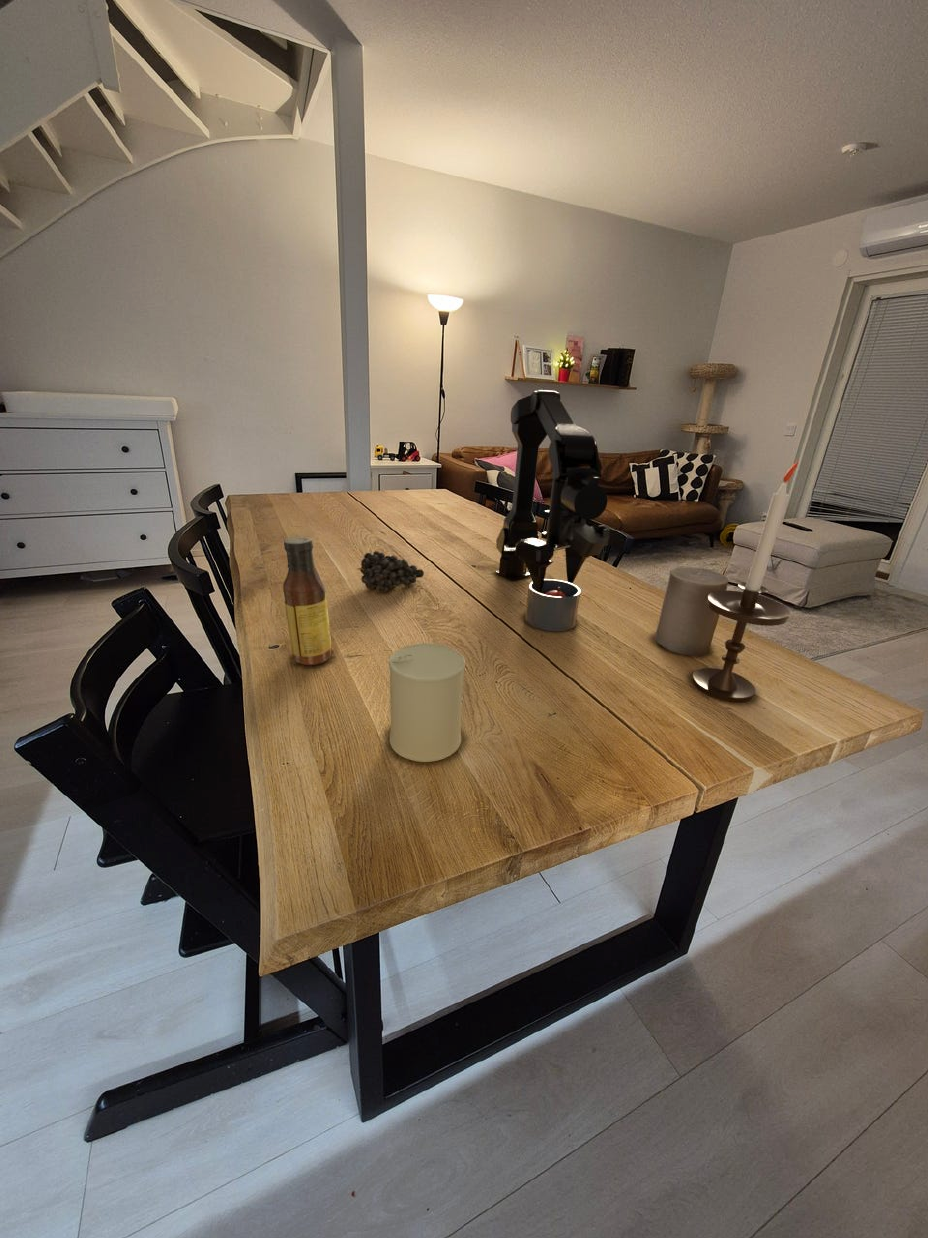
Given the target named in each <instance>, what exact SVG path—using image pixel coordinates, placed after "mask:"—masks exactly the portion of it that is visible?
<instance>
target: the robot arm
mask: <svg viewBox="0 0 928 1238" xmlns="http://www.w3.org/2000/svg"><path fill="white" fill-rule="evenodd" d="M510 423H511V432H512V434H513V436H514V438H515V441H516V443H517V451H516V461H515V472H514V481H513V483H514V484H513V493H512V494H513V495H512V503H511V504H512V505H511V509H510V510H509V512H508V514H507V515H506V516H505V518H504V519H503V525H502V528H500V531H499V534H498V535H497V537H496V540H495V541H496V543H495V546H496V550H497V551H498V552H499V553H500V557H499V566H498V570H495V572H494V573H495V574H497V575H499V576H502V577H504V578H506V579H509V580H511V581H515V580H519V579H523V578H528V577H530V579H531V582H533V584H534V587H535V590H536V591H537V592H539V593H540V592H541V591H542V588H543V584H544V579H546V578H545V577H546V571H547V568H548V567H549V566H550V565H551V564H553V562H554V561H553V560H552V558H554V553H555V551H560V550H565V551H564V552H565V569H566V570H565V571H566V579H567V581H566V582H569V583H572V584H574V582H575V580H576V578H577V576H578V574H579V572H580V570H581V568H582V566H583V564H584V562H585V561H586V559H587V558H590V557H592V556H599V555H600V553H601V551H602V549H603V547H607V546H608V545H609V540H610V530H611V529H610V528H609V527H608V526H607V525H605V524H603V525H598V526H596V527H594V525H593V526H589V525H588V524H587V521H592V520H595V519H597V518H599V517H600V516H601V515H602V514H603V513H604V512H605V510H606V509H607V505H608V501H609V500H608V496H607V493H606V490H604V488H603V487H601V486H600V485H599V484H600V479H601V478H602V470H603V466H602V462H601V458H600V454H599V453H600V452H599V450H598V449H599V448H598V444H597V442H596V439H595V437H594V435H593V434H591V433H590V432H589V431H588V430H587V429H585V428H583V427H580V426H577V425H576V424H575V423H574V421H573V419H572V418H571V416H570V414H569V412H568V411H567V409H566V408H565V406H564V404H563V402H562V401H561V394H560V392H557V391H556V390H547V389H546V390H545V389H544V390H543V389H537V390H535V391H533V392H532V393H531V394H530V395H527V396H525V397H522V398H520V399H518V400H517V401H516V402H515V403H514V405H513V406H512V408H511V411H510ZM547 437H548V438H549V441H550V443H549V446H548V450H547V451H548V452H547V453H548V459H549V461H550V465H551V469H552V472H551V473H550V477H552V483H551V491H550V492H551V493H550V501H549V507H548V508H549V509H547V510H543V517H546V518H547V524H546V525H547V526H546V531H543V532H541V534H539V530H538V528H539V524H538V521H537V520H536V519H535V516H534V514H533V504H534V497H535V495H534V494H535V488H536V477H537V470H538V461H539V453H540V452H539V450H540V446H541V444H542V443H543V442H544V440H545V439H546V438H547ZM540 535H541V536H540ZM539 538H541V539H539ZM542 539H543V540H542ZM544 540H545V541H544ZM527 571H528V572H527Z"/></svg>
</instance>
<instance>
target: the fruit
mask: <svg viewBox="0 0 928 1238" xmlns="http://www.w3.org/2000/svg"><path fill="white" fill-rule="evenodd" d="M360 566H361V567H359V568H356V570H359V571H360V572H361V574H362V576H361V579H360V580H361V582H362V583H363V584H364V585H365V588H366V589H367V590H371V591H372V590H376V589H377V588H378V589H379V591H380V592H381V593H387V592H388V591H389V590H392V589H393V588H394V587H395V586H396V587H397V586H399V585H404V586H405V588H406V587H410V586H411V584H412V585H413V584H415V583H416V581H417V578H422V577H424V575H425V573H424V572H425V571H424V570H423V569H420V568H418V567H417V566H416V565H415V564H412V565H409V563H408V561H407V560H406V559H398V557H397V556H396V555H391V556H390V555H385V553H384V552H380V551H379V550H375V551H373V553H371V552H366V553H365V554H364V555H363V558H362V560H361V563H360Z"/></svg>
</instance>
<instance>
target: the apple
mask: <svg viewBox="0 0 928 1238" xmlns="http://www.w3.org/2000/svg"><path fill="white" fill-rule="evenodd" d="M560 588H561V587H558V589H557V590H552V591H549V592H547V593H545V594H544V595H548V596H555V597H566V595H565V594H564V593H562V592H560Z"/></svg>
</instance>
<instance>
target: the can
mask: <svg viewBox="0 0 928 1238" xmlns="http://www.w3.org/2000/svg"><path fill="white" fill-rule="evenodd" d="M465 666H466V660H465V657H464V656H463V654H462V653H460V652H459V650H457V649H455V648H454V647H453V648H452V647H451V646H448V645H444V644H440V643H432V642H431V643H430V642H421V643H414V644H409V645H405V646H403V647H400V648H398V649H397V650H395V651H394V652H393V653H392V654H391V655H390V657H389V659H388V667H389V695H390V698H389V699H390V700H389V701H390V733H389V738H388V739H389V740H388V741H389V745H390V747H391V749H392V750H393V751H394V752H395V753H396V754H398V756H400V757H402V758H404V759H406V760H410V761H412V762H413V761H414V762H419V763H431V762H437V761H441V760H443V759H446V758H448V757H450V756H452V755H453V754H454V753H456V752H457V750H459V748H460V745H461V743H462V734H461V733H462V730H461V729H462V728H461V727H462V726H461V725H462V709H463V708H462V706H463V694H464V693H463V691H464V677H465V668H466V667H465Z"/></svg>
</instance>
